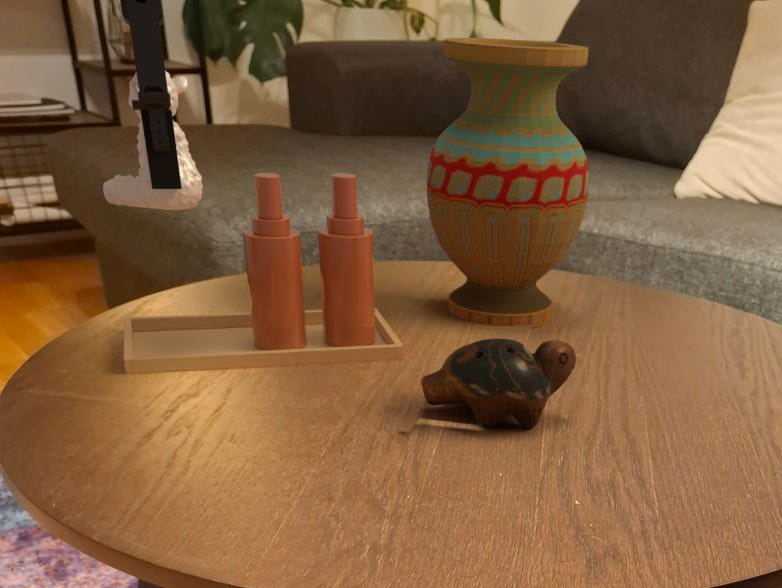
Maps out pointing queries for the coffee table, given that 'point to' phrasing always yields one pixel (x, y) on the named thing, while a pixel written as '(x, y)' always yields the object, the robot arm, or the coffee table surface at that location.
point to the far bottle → (346, 270)
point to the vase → (508, 179)
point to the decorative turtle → (501, 379)
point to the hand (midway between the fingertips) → (165, 180)
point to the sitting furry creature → (140, 188)
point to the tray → (236, 344)
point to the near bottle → (274, 271)
